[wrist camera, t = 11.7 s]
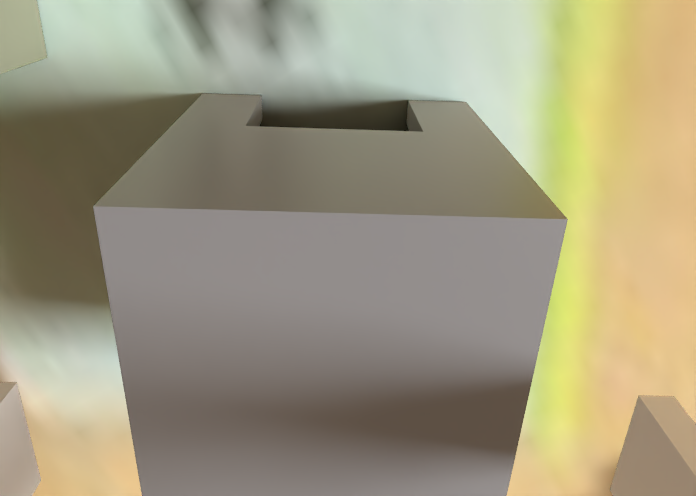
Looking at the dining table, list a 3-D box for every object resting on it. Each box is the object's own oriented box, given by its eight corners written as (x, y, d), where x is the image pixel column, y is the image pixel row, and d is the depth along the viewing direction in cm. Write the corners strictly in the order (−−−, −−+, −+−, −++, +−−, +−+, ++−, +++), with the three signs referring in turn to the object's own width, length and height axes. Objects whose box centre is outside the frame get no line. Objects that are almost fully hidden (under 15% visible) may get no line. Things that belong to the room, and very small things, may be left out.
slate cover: (466, 102, 20) (567, 219, 11) (438, 321, 24) (497, 536, 15) (202, 93, 20) (92, 205, 11) (218, 316, 24) (148, 532, 15)
